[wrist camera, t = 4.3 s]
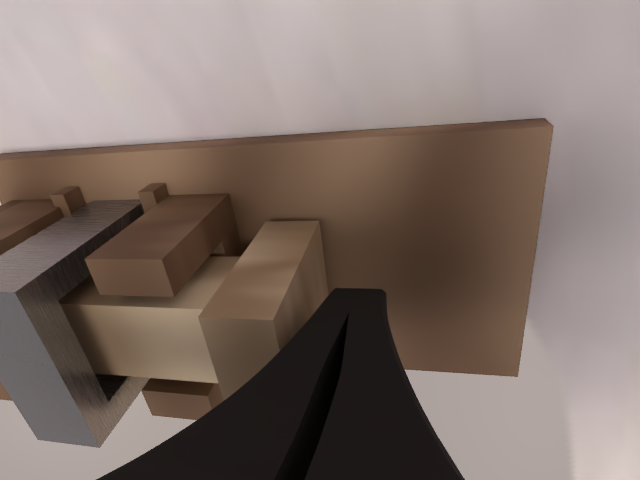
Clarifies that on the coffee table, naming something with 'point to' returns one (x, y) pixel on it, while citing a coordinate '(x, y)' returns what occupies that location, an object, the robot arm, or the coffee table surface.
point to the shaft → (208, 313)
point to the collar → (60, 330)
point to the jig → (335, 225)
